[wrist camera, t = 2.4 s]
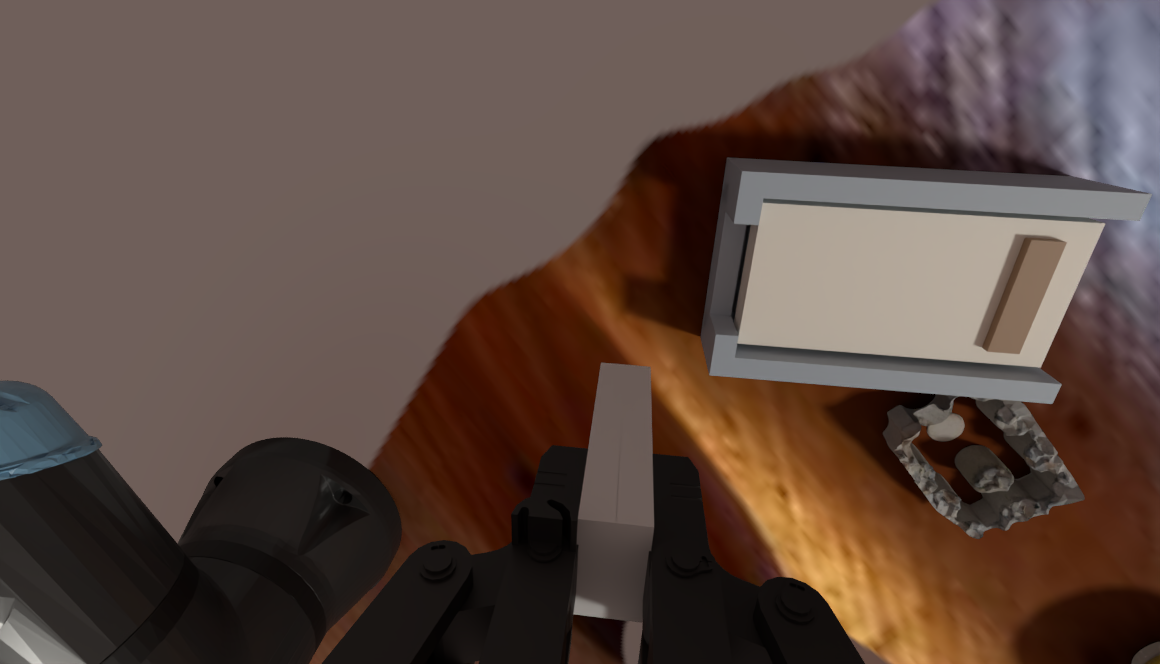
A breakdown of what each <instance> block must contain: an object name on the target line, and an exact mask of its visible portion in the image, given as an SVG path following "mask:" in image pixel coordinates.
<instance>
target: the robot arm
mask: <svg viewBox="0 0 1160 664" xmlns="http://www.w3.org/2000/svg"><path fill="white" fill-rule="evenodd" d="M101 446H102V444H101V442H100V441H99V440H98V439H97V438H96V437H92V436H88V434H86V432H85V431H84V430H83V429H82V428H81V427H80V426H79V425H78V424H77V423H76V422H75V421H74V420H73V419H72V417H71V416H70V415H69V414H68V413H67V412H66V411H65V410H64V409H63V408H62V407H61V406H60V405H59V404H58V403H57V401H56V400H55V399H54V398H53V397H52V396H51V395H49V394H48V393H47V392H46V391H44V390H43V389H41V388H39V387H37V386H34V385H31V384H28V383H24V382H19V381H0V664H309V663H310V661H311V659H312V657H313V655H314V654H315V652H316V650H317V648H318V647H319V645H320V643H321V641H322V639H323V638H324V636H325V634H326V633H327V631H328V630H329V629H330V628H331V627H332V626H333V625H334V624H336V623H337V622H338V621H339V620H340V619H341V618H342V617H343V616H344V615H345V614H346V613H347V612H348V611H349V610H350V609H351V608H352V607H353V606H354V605H355V604H356V603H357V602H358V601H359V600H360V599H361V598H362V597H363V596H364V595H365V594H366V593H367V592H368V591H369V590H371V589H372V588H373V587H374V586H376V584H377V583H378V582H379V581H380V580H381V579H382V577H383V576H384V575H385V573H386V571H387V570H388V568H389V566H390V564H391V562H392V560H393V558H394V556H395V554H396V552H397V550H398V548H399V545H400V541H401V533H402V528H401V520H400V516H399V512H398V510H397V507H396V505H395V503H394V501H393V499H392V497H391V495H390V494H389V492H388V491H387V489H386V488H385V487H384V485H383V484H382V483H381V482H380V481H379V480H378V479H377V478H376V477H375V475H373V474H372V473H371V472H370V471H369V470H368V469H367V468H365V467H364V466H363V465H362V464H360V463H359V462H358V461H356V460H354V459H353V458H351V457H350V456H348V455H346V454H344V453H342V452H340V451H339V450H336V449H334V448H332V447H329V446H326V445H324V444H321V443H318V442H314V441H309V440H305V439H298V438H271V439H265V440H261V441H258V442H255V443H252V444H250V445H248V446H246V447H244V448H243V449H241V450H240V451H239V452H237V453H236V454H235V455H234V456H233V457H232V458H231V459H230V460H229V461H228V462H227V463H225V464H224V465H223V466H222V467H221V468H220V469H219V470H218V471H217V472H216V474H215V475H214V476H213V477H212V478H211V480H210V481H209V483H208V485H207V487H206V489H205V491H204V493H203V496H202V498H201V500H200V501H199V503H198V505H197V507H196V508H195V510H194V512H193V514H192V516H191V518H190V520H189V522H188V524H187V526H186V528H185V530H184V532H183V534H182V536H181V538H180V540H179V542H178V544H177V543H176V541H175V540H174V539H173V538H172V537H171V536H170V534H169V533H168V532H167V531H166V529H165V528H164V527H163V526H162V525H161V523H160V522H159V521H158V520H157V519H156V518H155V516H154V515H153V514H152V513H151V512H150V510H149V509H148V508H147V507H146V506H145V504H144V503H143V502H142V501H141V500H140V498H139V497H138V496H137V495H136V494H135V492H134V491H133V490H132V489H131V488H130V486H129V485H128V484H127V483H126V482H125V480H124V479H123V478H122V477H121V476H120V474H119V473H118V472H117V471H116V470H115V468H114V467H113V466H112V465H111V464H110V462H109V461H108V460H107V459H106V458H105V457H104V455H103V454H102V453H101V452H100V450H99V448H100V447H101ZM511 517H512V542H511V543H510V544H508V545H507V546H505V547H503V548H501V549H499V550H495V551H492V552H487V553H481V554H475V555H471V554H470V553H469V551H468V550H467V549H466V547H464V546H462V545H461V544H459V543H457V542H453V541H446V540H442V541H436V542H430V543H428V544H426V545H424V546H422V547H420V548H418V549H417V550H416V551H415V552H414V553H412V554H411V555H410V556H409V557H408V559H407V560H406V561H405V562H404V563H403V565H402V566H401V567H400V568H399V570H398V571H397V572H396V573H395V574H394V576H393V577H392V578H391V579H390V581H389V582H388V583H387V584H386V586H385V587H384V588H383V589H382V590H381V592H380V593H379V594H378V595H377V597H376V598H375V599H374V600H373V601H372V603H371V604H370V605H369V606H368V608H367V609H366V610H365V611H364V612H363V614H362V615H361V616H360V617H359V619H358V620H357V621H356V622H355V623H354V625H353V626H352V627H351V628H350V630H349V631H348V632H347V633H346V635H345V636H344V637H343V638H342V639H341V641H340V642H339V643H338V644H337V646H336V647H335V648H334V649H333V650H332V652H331V653H330V654H329V655H328V657H327V658H326V659H325V660H324V661H323V663H322V664H474V663H475V661H479V664H568V662H569V654H570V646H571V638H572V621H573V614H577V615H585V616H593V617H601V618H609V619H618V620H626V621H635V622H642V617H643V630H642V638H641V646H640V654H639V661H638V664H865V663H864V661H863V660H862V658H861V657H860V655H859V653H858V652H857V650H856V648H855V647H854V645H853V644H852V642H851V640H850V639H849V637H848V635H847V634H846V632H845V630H844V629H843V627H842V626H841V624H840V622H839V621H838V619H837V617H836V616H835V614H834V613H833V611H832V609H831V608H830V606H829V605H828V603H827V602H826V601H825V599H824V598H823V597H822V596H821V595H820V594H819V592H818V591H816V590H815V589H813V588H812V587H810V586H809V585H807V584H806V583H804V582H801V581H798V580H796V579H793V578H786V577H776V578H773V579H769V580H767V581H766V582H765V583H764V584H763V585H762V586H761V587H759V586H756V585H754V584H751V583H748V582H746V581H743V580H741V579H739V578H737V577H735V576H733V575H731V574H729V573H728V572H727V571H725V570H724V569H723V568H722V567H721V566H720V565H719V564H718V563H717V562H716V561H715V558H714V557H713V556H712V554H711V552H710V549H709V545H708V538H707V530H706V523H705V516H704V509H703V502H702V494H701V489H700V480H699V473H698V470H697V469H696V467H695V466H694V465H693V463H692V462H691V460H690V459H689V458H688V457H680V456H670V455H660V454H652V413H651V370H650V367H645V366H633V365H622V364H610V363H601V367H600V374H599V380H598V387H597V394H596V400H595V407H594V414H593V420H592V427H591V434H590V441H589V447H588V449H585V448H575V447H565V446H554V445H552V446H551V447H550V449H549V450H548V451H547V452H546V453H545V454H544V455H543V456H542V457H541V460H540V464H539V468H538V473H537V475H536V479H535V484H534V486H533V490H532V494H531V497H530V498H527V499H525V500H523V501H522V502H521V503H519V504H518V505H517V506H516V507H515V509H514V511H513V512H512V514H511Z"/></svg>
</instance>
